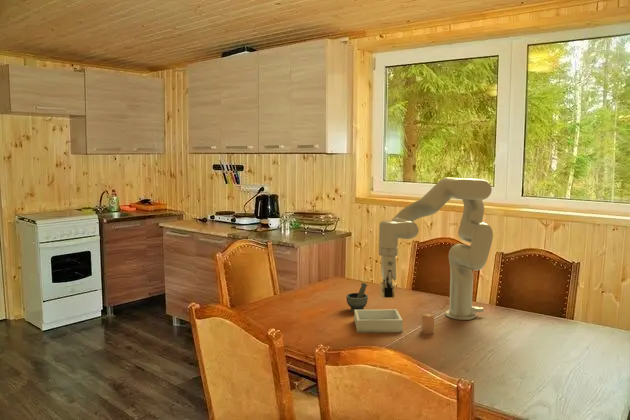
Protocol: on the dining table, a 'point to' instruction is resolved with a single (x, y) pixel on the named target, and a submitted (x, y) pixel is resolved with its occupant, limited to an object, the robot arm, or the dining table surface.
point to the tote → (378, 321)
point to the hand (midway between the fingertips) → (387, 294)
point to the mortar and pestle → (358, 299)
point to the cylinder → (427, 323)
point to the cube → (382, 288)
